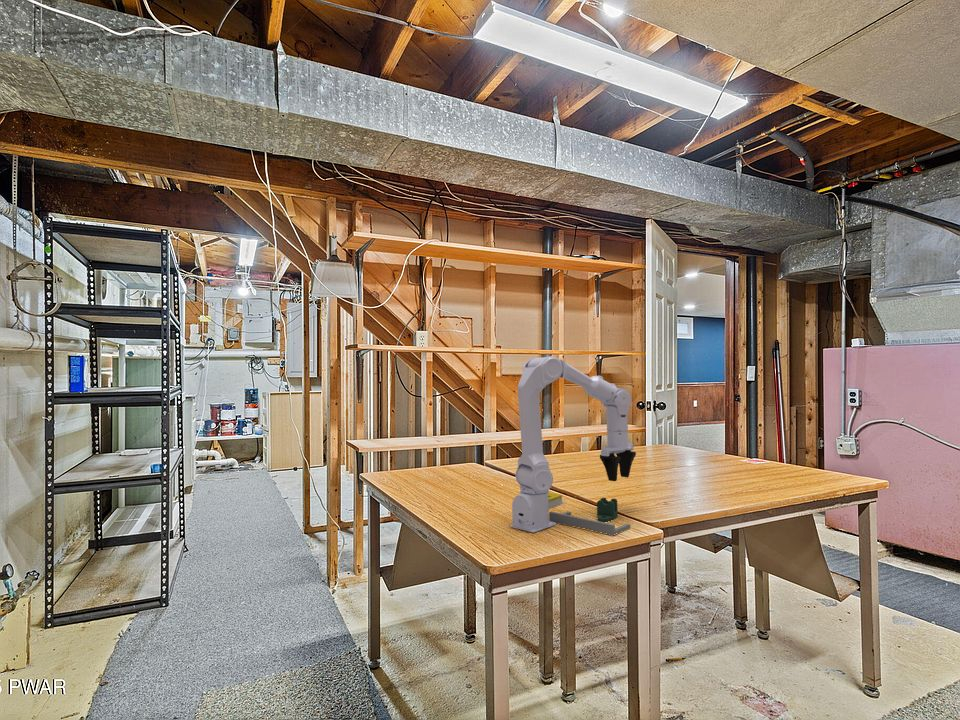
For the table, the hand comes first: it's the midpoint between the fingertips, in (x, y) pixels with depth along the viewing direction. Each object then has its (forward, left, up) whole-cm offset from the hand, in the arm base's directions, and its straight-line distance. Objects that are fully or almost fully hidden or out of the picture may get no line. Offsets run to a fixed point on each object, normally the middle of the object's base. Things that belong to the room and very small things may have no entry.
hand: (618, 478), depth 144 cm
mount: (-7, 0, -10) cm, 12 cm away
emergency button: (-7, +22, -10) cm, 25 cm away
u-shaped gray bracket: (-16, 0, -9) cm, 18 cm away
